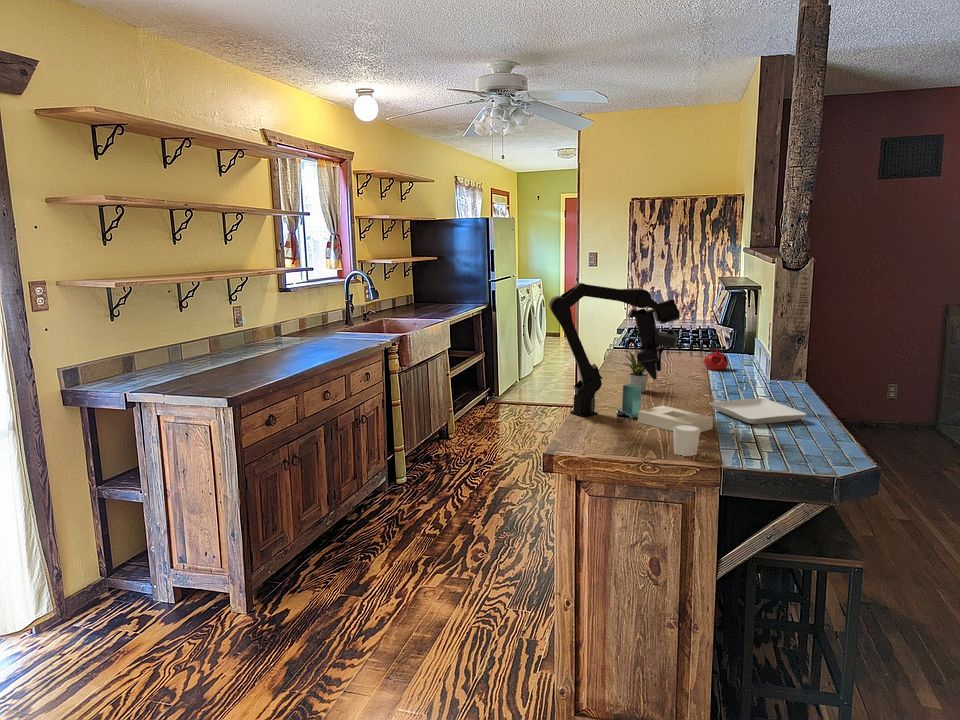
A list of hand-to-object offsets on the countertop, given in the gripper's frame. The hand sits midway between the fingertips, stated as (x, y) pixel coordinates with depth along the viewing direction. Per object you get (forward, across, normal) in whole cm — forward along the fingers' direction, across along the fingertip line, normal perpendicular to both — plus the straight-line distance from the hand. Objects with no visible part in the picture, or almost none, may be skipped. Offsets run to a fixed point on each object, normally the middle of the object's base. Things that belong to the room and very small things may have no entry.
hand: (657, 374), depth 210 cm
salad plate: (+21, +9, -26) cm, 34 cm away
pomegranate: (+25, +86, -8) cm, 90 cm away
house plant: (+13, +30, +14) cm, 35 cm away
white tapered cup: (+12, -39, -10) cm, 42 cm away
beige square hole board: (+13, -12, -4) cm, 19 cm away
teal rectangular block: (+10, -7, +10) cm, 16 cm away
